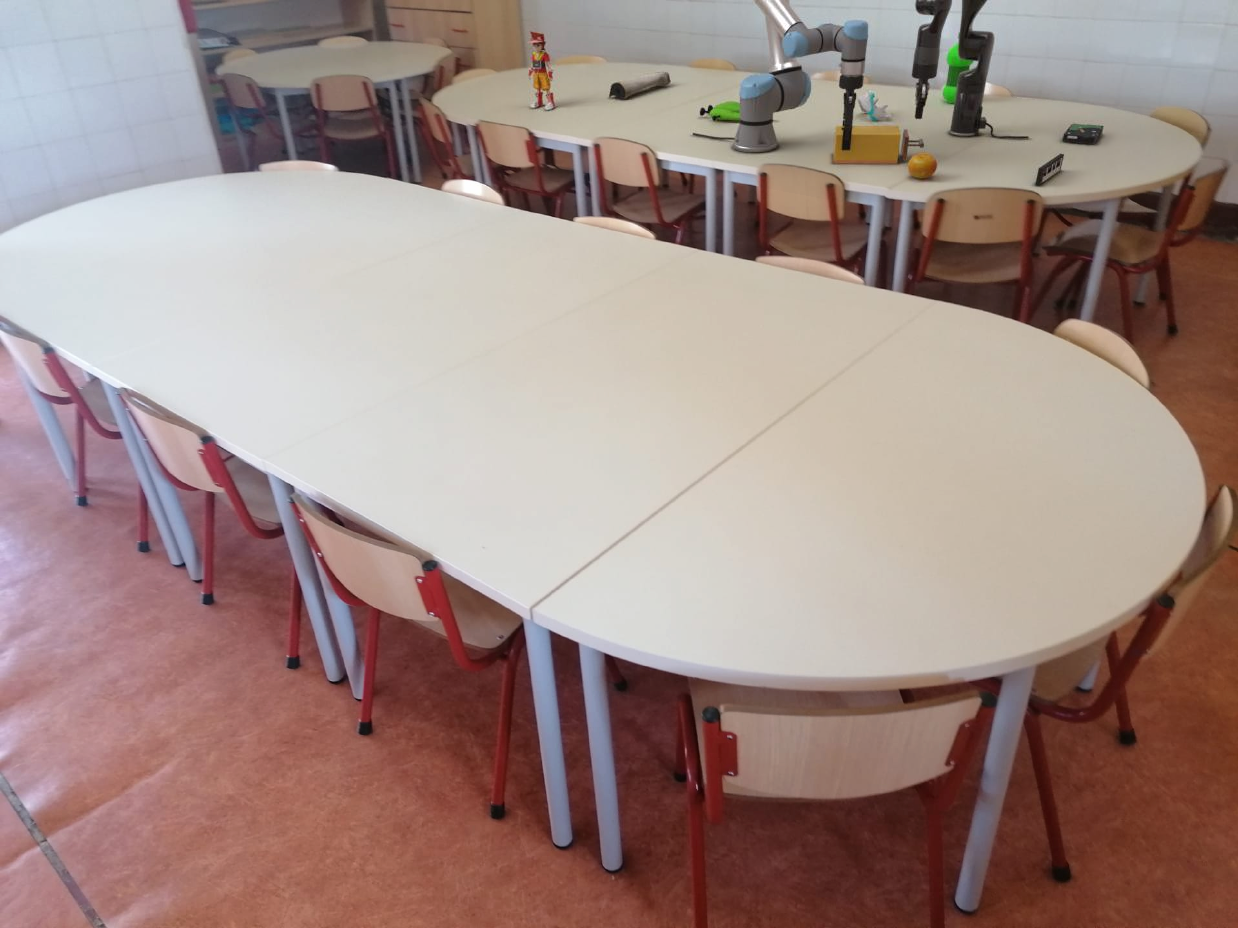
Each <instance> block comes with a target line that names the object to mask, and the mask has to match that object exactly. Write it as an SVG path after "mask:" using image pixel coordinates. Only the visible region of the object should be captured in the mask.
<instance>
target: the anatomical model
mask: <svg viewBox="0 0 1238 928" xmlns="http://www.w3.org/2000/svg"><path fill="white" fill-rule="evenodd" d="M875 98H876V95H875V93H874V92H872V91H871V90H869V89H868V90H866V93H865V94H864V95H861V96H858V97H857V102H858V104H859V107H860V110H861V112H863V113H867V114H868V116H869V118H870V119H871V121H873V122H876V121H877V122H878V121H879V120H890V119H891V118H892V115H891V114H887V113H885V111H886V109H887V108H888V104H885V105H882V106H877V105H876V104H877V103H878V101H879V98H876V99H875Z"/></svg>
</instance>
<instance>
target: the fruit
mask: <svg viewBox="0 0 1238 928" xmlns="http://www.w3.org/2000/svg"><path fill="white" fill-rule="evenodd" d="M937 168H938V162H937V159H936V158H935V157H934V156H933V155H932V154H930V153H927V152H925V153H924V152H921V153H917V154H915V155H913V156H912V157H911V158H910V159H909V161H908V164H907V171H908V174H909V175H910V176H911V177H913V178H916V179H928V178H930V177H932V176H933V175H934V174H935V173H936V171H937Z"/></svg>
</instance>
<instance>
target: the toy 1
mask: <svg viewBox="0 0 1238 928" xmlns="http://www.w3.org/2000/svg"><path fill="white" fill-rule="evenodd" d="M529 33H530V35H531V36H528V37H527V38H528V39H529V40H528V41H527V43H529V44H530V43H531V44H532V48H533V50H534V51H533V52H532V55H531V58H530V59H531V63H530V66H528V74H527V75H528V76H527V77H528V79H529V80H531V75H532V74H533V84H532V85H533V86H532V87H533V88H534V89H535V90H536V92H534V95H535V97H536V100H535V101H533V102H531V105H530V108H531V109H535V108H538V107H542V106H544V101H543V100H544V99H543V95H544V92H546V94H545V97H546V99H547V103H546V104H545V106H544V110H546V111H549V110H553V109H554V107H555V106H556V105H555V99H554V92H551V91H550V90H551V86H552V84H551V82H552V81H553V80H554V77H553V73H554V71H555V70H554V69H552V68H551V63H550V61H551V59H550V58H551V57H550V54H549V53H548V52H547V50H546V48H545V46H546V44H547V41H545V35H544V33H543V32H542V33H539V32H535V31H529Z"/></svg>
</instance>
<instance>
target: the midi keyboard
mask: <svg viewBox="0 0 1238 928" xmlns="http://www.w3.org/2000/svg"><path fill="white" fill-rule="evenodd" d="M1064 157H1065V153H1059V154H1058V155H1056V156H1055V157H1052V159H1051V160H1049V161H1047V162H1045V164H1042V165H1041V166H1039V167H1038V169H1037V175H1036V179H1035V186H1040V185H1042V183H1044V182H1045V181H1047V180H1048V179H1049V178H1051V177H1052V176H1054V175H1055V174H1056V173H1058V172H1060V171H1061V170H1062V165H1063V161H1064Z"/></svg>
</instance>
